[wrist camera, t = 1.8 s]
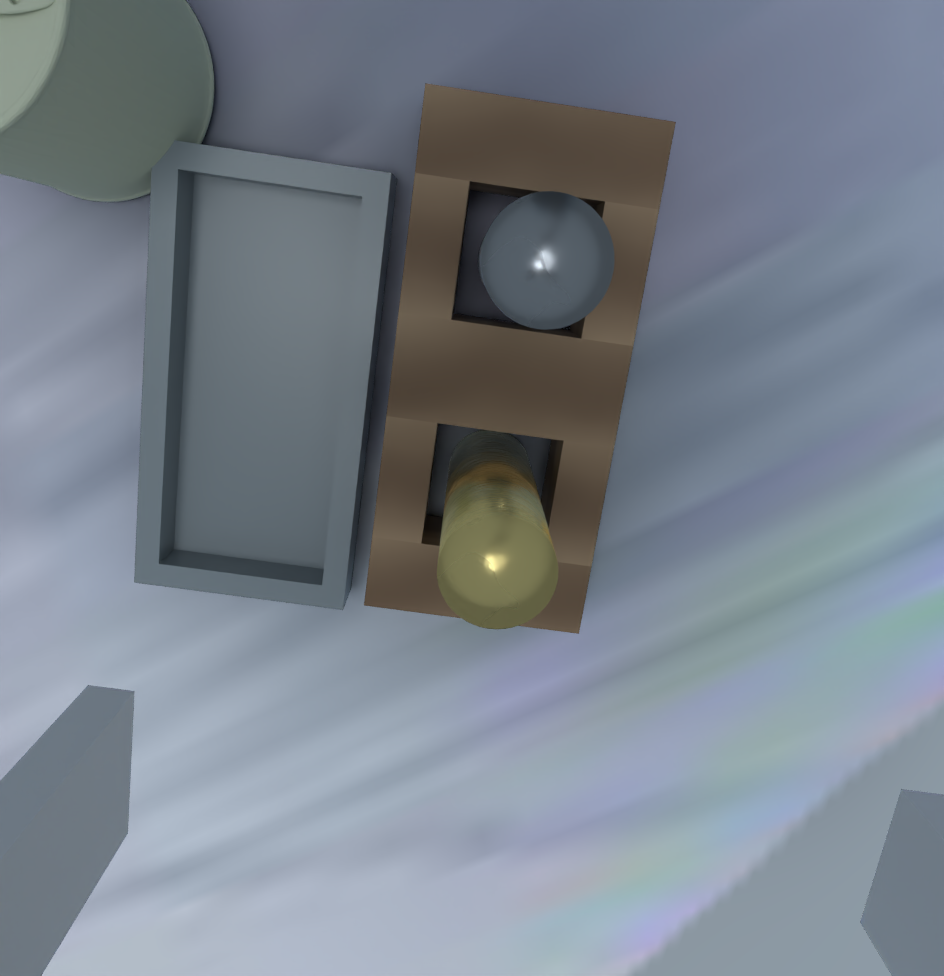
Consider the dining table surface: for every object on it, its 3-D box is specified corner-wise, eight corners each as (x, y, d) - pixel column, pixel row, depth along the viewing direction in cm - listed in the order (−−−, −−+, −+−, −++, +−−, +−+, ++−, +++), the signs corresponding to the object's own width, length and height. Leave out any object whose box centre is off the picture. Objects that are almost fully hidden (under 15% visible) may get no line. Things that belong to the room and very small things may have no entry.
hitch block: (430, 103, 34) (425, 83, 30) (652, 137, 34) (675, 121, 30) (374, 571, 39) (364, 605, 35) (568, 596, 39) (578, 633, 35)
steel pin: (484, 210, 35) (491, 181, 22) (570, 223, 35) (625, 202, 22) (472, 299, 36) (472, 319, 23) (556, 311, 36) (601, 338, 23)
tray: (175, 145, 34) (152, 137, 32) (397, 179, 34) (391, 172, 32) (155, 562, 39) (134, 582, 36) (351, 588, 39) (342, 609, 37)
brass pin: (454, 423, 37) (445, 507, 25) (535, 435, 37) (568, 523, 25) (443, 502, 38) (429, 620, 25) (523, 513, 38) (547, 636, 26)
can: (209, 215, 34) (57, 174, 23) (-15, 187, 34) (-282, 131, 23) (222, -35, 32) (62, -224, 21) (-17, -65, 32) (-310, -269, 21)
